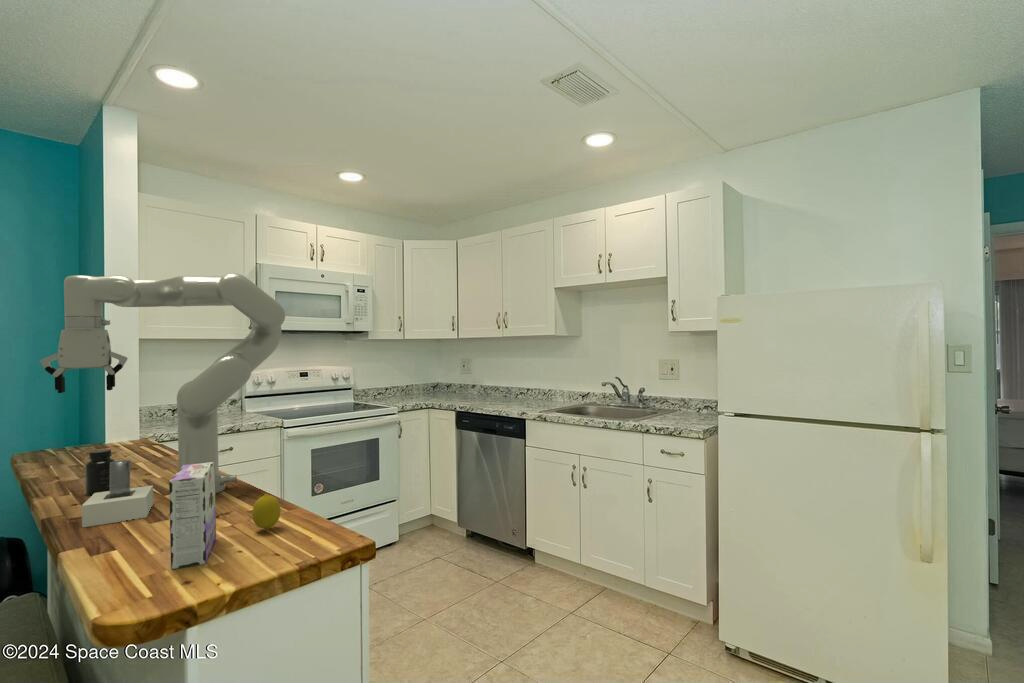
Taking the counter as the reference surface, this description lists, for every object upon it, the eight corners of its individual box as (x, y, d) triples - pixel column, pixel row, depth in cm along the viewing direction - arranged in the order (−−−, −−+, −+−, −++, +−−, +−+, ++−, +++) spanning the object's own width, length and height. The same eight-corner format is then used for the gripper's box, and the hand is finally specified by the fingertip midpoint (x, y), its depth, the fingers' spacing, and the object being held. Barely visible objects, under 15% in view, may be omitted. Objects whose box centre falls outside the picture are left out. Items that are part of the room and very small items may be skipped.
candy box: (184, 543, 105) (182, 464, 105) (217, 538, 107) (215, 460, 107) (169, 570, 92) (167, 479, 92) (207, 564, 94) (204, 475, 94)
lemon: (275, 524, 115) (274, 488, 115) (284, 530, 111) (283, 493, 111) (249, 531, 111) (248, 494, 111) (257, 537, 107) (256, 499, 107)
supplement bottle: (79, 495, 143) (78, 452, 143) (105, 488, 150) (104, 447, 150) (97, 496, 141) (96, 453, 141) (122, 489, 148) (121, 448, 148)
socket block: (153, 504, 132) (152, 485, 132) (146, 517, 122) (145, 496, 122) (94, 512, 127) (94, 492, 127) (82, 527, 116) (81, 505, 116)
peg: (130, 507, 127) (131, 459, 127) (128, 511, 124) (129, 461, 124) (110, 510, 125) (111, 461, 125) (108, 514, 122) (108, 463, 122)
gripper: (129, 324, 137) (130, 388, 137) (44, 325, 129) (46, 392, 129) (123, 323, 130) (125, 390, 130) (34, 323, 122) (35, 394, 122)
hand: (86, 391), depth 129 cm, fingers open, 9 cm apart
